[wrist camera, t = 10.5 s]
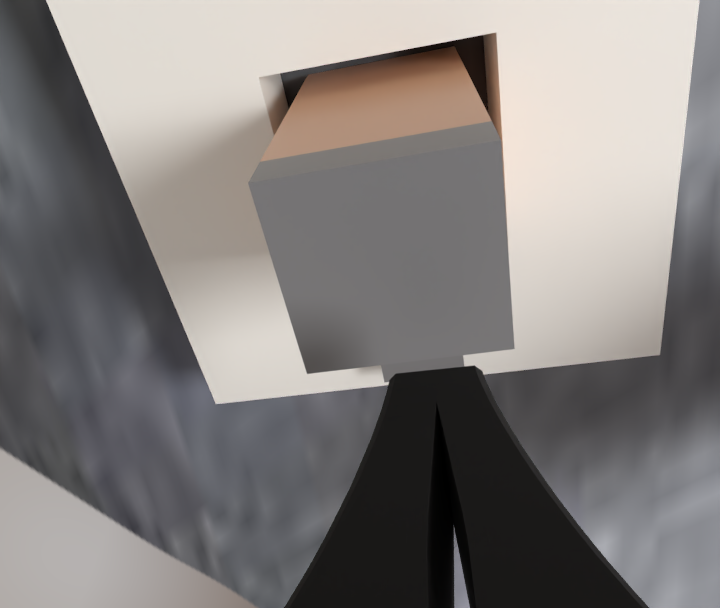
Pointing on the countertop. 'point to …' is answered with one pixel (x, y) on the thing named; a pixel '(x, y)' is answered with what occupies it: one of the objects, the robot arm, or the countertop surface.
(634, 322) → the socket plate
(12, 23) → the countertop surface
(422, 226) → the plug
